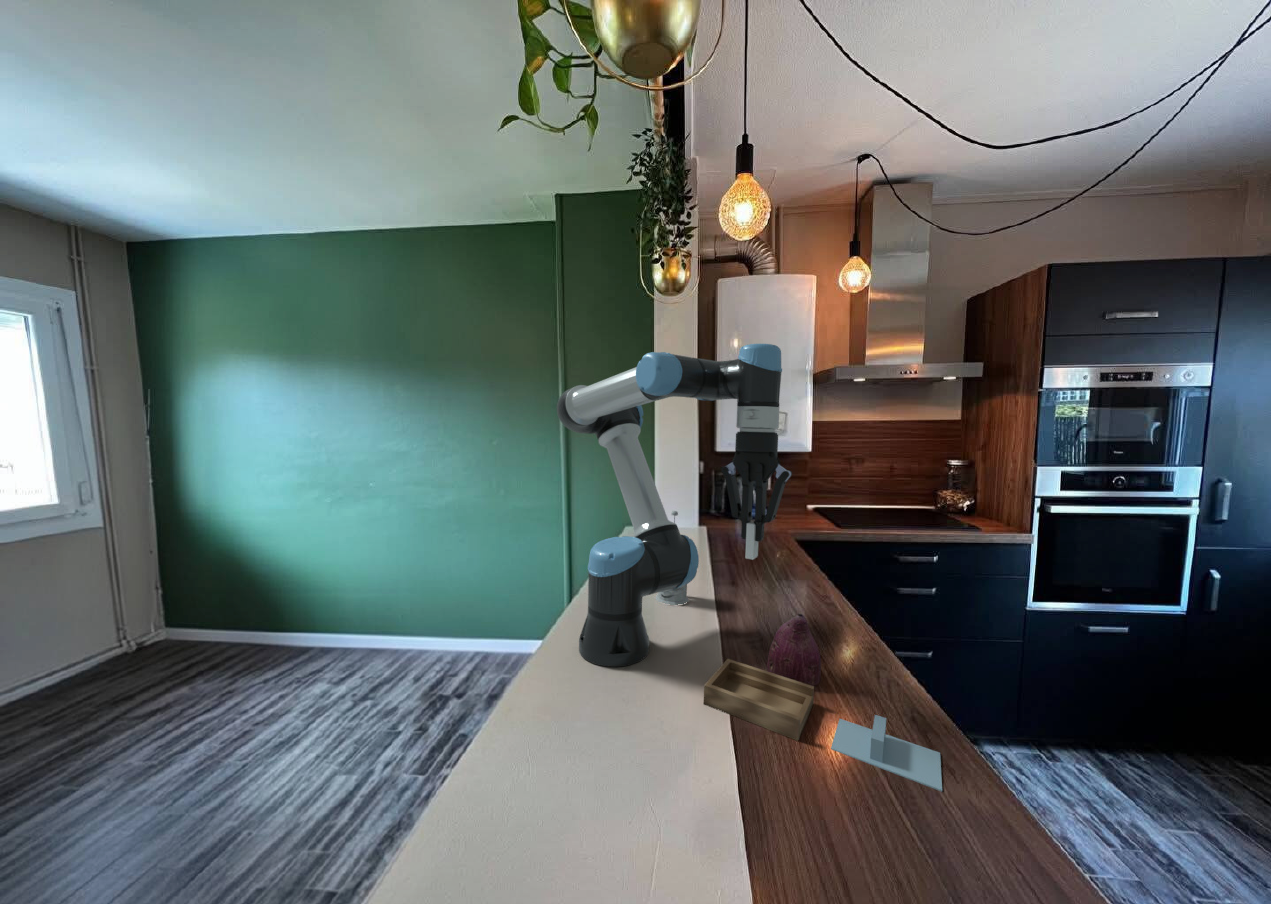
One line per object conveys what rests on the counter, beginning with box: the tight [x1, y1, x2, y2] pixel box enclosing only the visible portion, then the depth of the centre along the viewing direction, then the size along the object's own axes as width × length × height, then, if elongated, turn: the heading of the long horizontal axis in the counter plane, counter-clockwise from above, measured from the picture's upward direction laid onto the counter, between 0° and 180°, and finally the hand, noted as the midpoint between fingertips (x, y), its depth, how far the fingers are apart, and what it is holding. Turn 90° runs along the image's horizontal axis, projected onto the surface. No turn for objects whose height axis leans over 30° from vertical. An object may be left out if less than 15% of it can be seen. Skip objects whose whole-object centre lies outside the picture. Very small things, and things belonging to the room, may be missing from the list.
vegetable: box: [766, 612, 822, 687], centre depth 87 cm, size 10×10×15 cm
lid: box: [830, 714, 943, 792], centre depth 68 cm, size 14×8×4 cm, turn 57°
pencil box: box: [703, 658, 815, 742], centre depth 79 cm, size 16×11×3 cm
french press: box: [655, 510, 698, 605], centre depth 125 cm, size 10×12×25 cm
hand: (751, 557), depth 84 cm, fingers closed
